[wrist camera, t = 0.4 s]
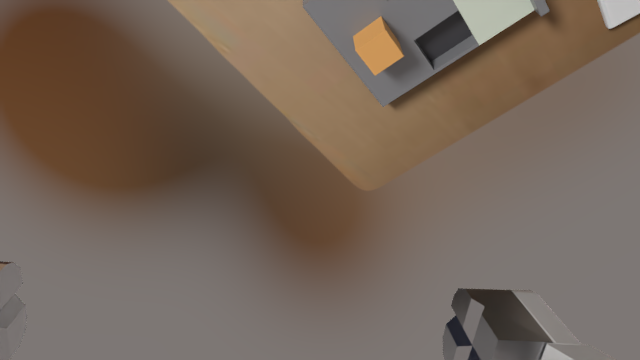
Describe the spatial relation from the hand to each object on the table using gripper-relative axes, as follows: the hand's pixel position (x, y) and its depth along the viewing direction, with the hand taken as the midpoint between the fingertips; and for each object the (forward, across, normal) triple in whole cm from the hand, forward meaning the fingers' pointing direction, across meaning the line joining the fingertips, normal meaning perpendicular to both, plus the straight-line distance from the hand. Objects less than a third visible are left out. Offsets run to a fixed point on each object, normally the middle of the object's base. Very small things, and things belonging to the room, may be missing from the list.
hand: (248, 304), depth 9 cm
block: (+50, -12, -2) cm, 52 cm away
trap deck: (+51, -17, -7) cm, 54 cm away
